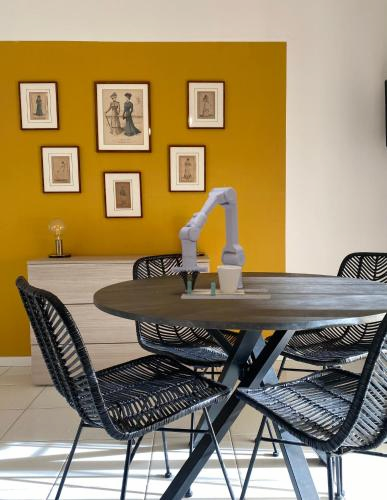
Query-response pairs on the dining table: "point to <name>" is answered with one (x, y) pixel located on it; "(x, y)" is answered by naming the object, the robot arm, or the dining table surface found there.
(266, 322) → the dining table surface
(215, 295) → the lane rails
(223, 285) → the cup
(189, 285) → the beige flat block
